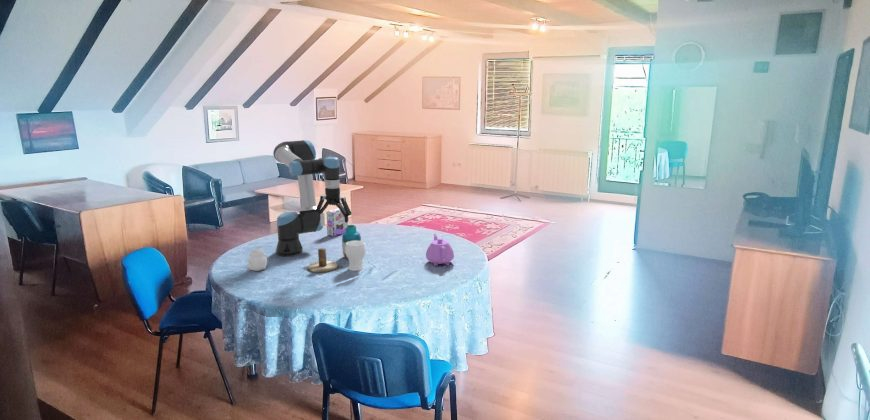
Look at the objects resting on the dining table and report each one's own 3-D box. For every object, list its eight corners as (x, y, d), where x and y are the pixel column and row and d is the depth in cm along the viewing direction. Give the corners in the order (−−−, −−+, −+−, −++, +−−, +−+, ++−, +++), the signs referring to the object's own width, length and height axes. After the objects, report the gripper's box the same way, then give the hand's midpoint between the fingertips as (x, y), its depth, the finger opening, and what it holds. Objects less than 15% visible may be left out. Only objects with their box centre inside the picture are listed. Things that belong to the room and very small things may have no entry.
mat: (301, 269, 284) (301, 268, 283) (325, 262, 295) (325, 260, 295) (320, 276, 274) (319, 275, 273) (344, 268, 285) (344, 267, 285)
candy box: (333, 236, 344) (332, 212, 340) (327, 235, 347) (325, 210, 343) (348, 232, 355) (347, 208, 351) (341, 230, 358) (340, 206, 354)
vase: (357, 262, 296) (356, 229, 291) (339, 260, 298) (338, 227, 293) (364, 256, 306) (363, 224, 301) (346, 255, 308) (345, 223, 304)
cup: (364, 273, 278) (363, 246, 275) (344, 273, 279) (343, 246, 275) (367, 266, 289) (366, 240, 285) (347, 266, 289) (346, 240, 285)
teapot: (421, 257, 305) (421, 233, 302) (447, 255, 309) (448, 232, 305) (430, 269, 284) (430, 245, 281) (458, 267, 288) (458, 243, 285)
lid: (302, 268, 284) (301, 249, 281) (325, 261, 295) (324, 243, 292) (320, 274, 274) (319, 255, 272) (342, 267, 285) (342, 248, 283)
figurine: (272, 268, 286) (270, 246, 284) (260, 274, 277) (259, 252, 275) (256, 266, 290) (254, 244, 287) (244, 271, 281) (243, 250, 278)
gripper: (307, 186, 277) (309, 226, 282) (350, 190, 269) (351, 231, 274) (315, 184, 284) (317, 222, 289) (357, 187, 275) (358, 227, 281)
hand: (333, 226), depth 281 cm, fingers open, 13 cm apart
